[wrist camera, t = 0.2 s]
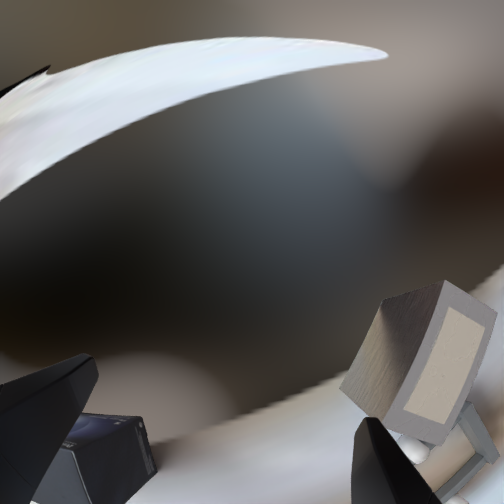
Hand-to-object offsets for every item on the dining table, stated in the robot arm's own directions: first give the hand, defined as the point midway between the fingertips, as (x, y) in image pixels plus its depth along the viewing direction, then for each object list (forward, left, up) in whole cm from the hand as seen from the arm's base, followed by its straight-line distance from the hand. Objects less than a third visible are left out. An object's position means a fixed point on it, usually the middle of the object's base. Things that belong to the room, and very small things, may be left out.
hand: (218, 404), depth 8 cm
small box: (-4, +17, -15) cm, 23 cm away
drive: (-4, -10, -15) cm, 18 cm away
